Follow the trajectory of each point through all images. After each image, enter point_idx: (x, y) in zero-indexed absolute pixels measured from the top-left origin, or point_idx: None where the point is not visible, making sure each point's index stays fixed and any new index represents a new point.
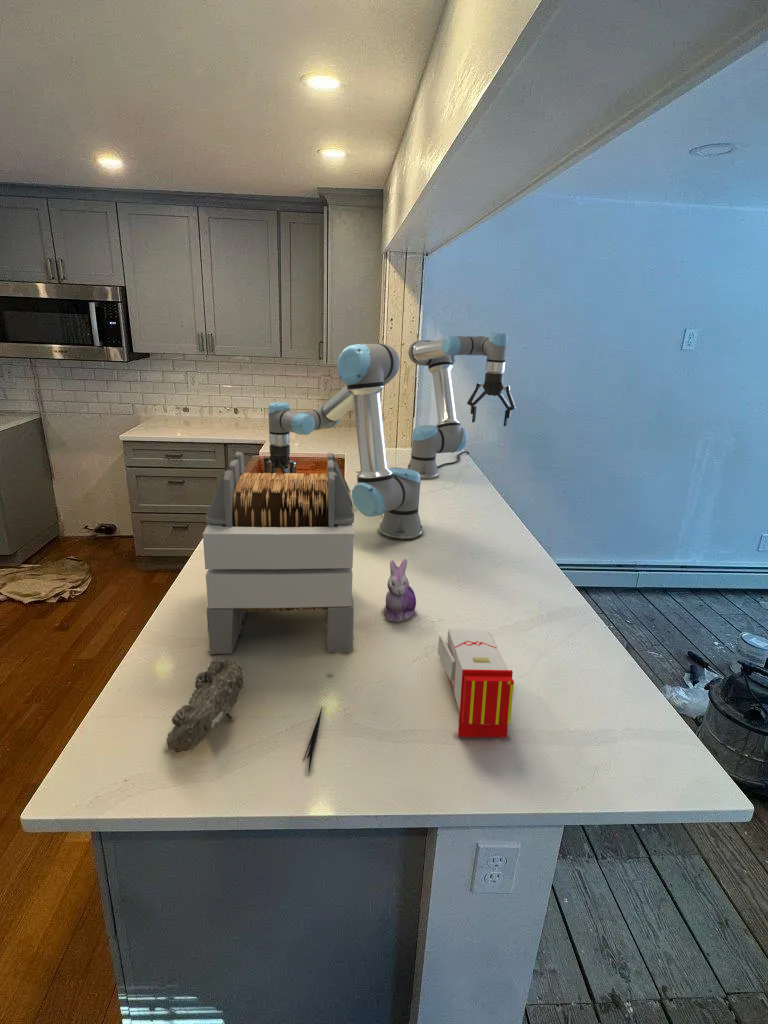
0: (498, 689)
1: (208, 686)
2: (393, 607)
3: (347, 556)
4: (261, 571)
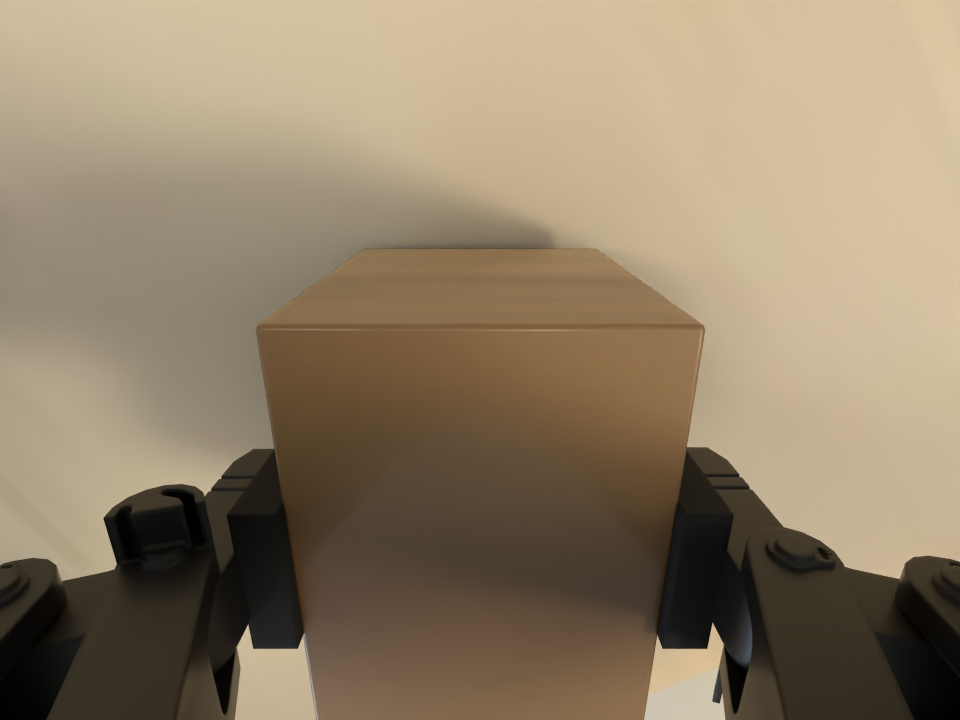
0: None
1: None
2: None
3: None
4: None
